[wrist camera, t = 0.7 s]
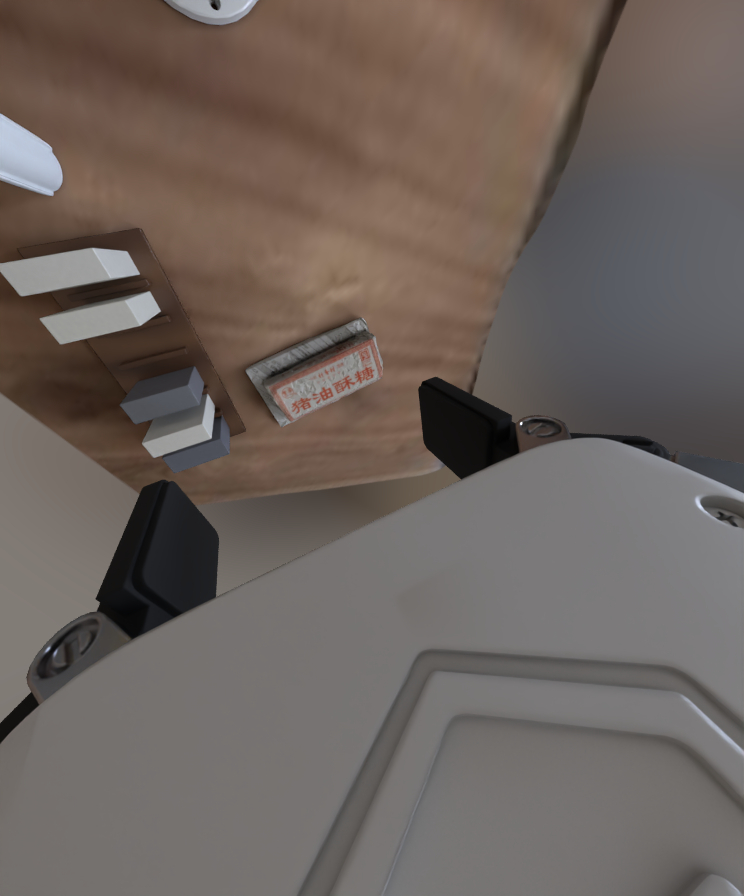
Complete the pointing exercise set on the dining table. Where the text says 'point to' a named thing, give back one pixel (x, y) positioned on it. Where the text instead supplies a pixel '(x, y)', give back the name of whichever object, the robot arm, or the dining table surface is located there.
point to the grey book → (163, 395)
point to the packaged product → (317, 371)
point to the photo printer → (27, 160)
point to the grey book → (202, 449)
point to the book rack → (156, 341)
